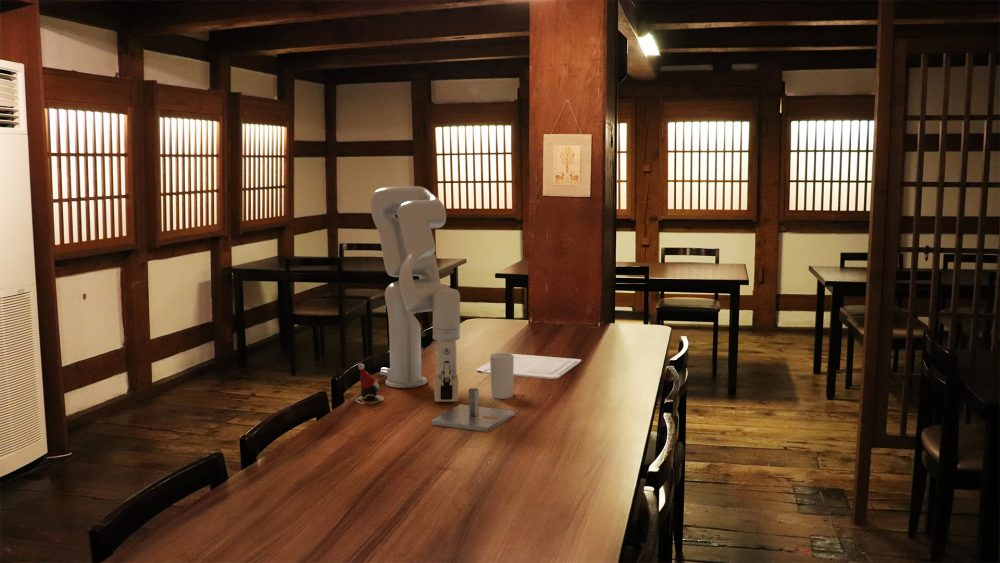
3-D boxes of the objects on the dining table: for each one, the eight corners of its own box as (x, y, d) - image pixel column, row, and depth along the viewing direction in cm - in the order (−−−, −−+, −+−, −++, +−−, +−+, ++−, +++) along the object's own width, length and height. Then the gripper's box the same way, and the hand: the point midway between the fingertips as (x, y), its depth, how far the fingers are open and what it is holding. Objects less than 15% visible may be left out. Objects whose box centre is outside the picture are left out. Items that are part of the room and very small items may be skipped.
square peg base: (431, 424, 219) (431, 393, 218) (460, 408, 233) (459, 379, 232) (487, 432, 212) (487, 400, 211) (513, 415, 227) (513, 385, 226)
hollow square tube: (434, 401, 237) (434, 379, 236) (434, 394, 243) (434, 373, 242) (457, 401, 237) (458, 379, 236) (457, 394, 244) (457, 373, 243)
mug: (508, 400, 242) (508, 358, 240) (486, 397, 244) (486, 356, 243) (521, 391, 251) (521, 351, 249) (500, 389, 253) (499, 349, 252)
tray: (474, 373, 275) (474, 369, 275) (506, 356, 301) (506, 351, 301) (556, 381, 265) (556, 376, 265) (582, 362, 290) (582, 358, 290)
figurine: (395, 382, 247) (375, 363, 238) (384, 414, 243) (364, 396, 233) (371, 380, 251) (351, 361, 241) (360, 411, 246) (339, 393, 237)
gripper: (461, 340, 229) (460, 404, 232) (458, 326, 246) (458, 386, 249) (433, 340, 228) (433, 405, 231) (432, 326, 245) (432, 387, 248)
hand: (446, 394), depth 240 cm, fingers closed on hollow square tube, 6 cm apart
